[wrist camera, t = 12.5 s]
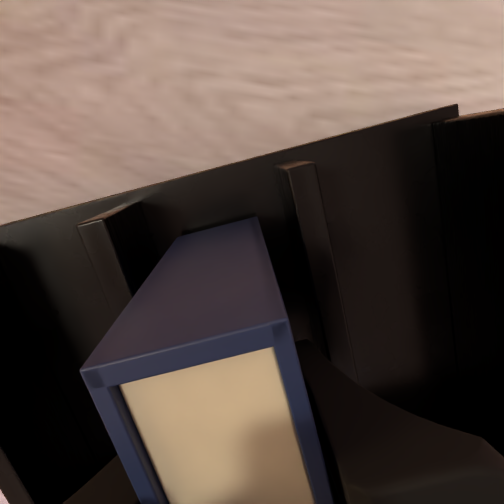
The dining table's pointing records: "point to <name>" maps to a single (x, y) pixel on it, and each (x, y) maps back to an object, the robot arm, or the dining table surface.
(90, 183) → the dining table surface
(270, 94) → the dining table surface
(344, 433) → the robot arm
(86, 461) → the rack
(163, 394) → the book
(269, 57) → the dining table surface
